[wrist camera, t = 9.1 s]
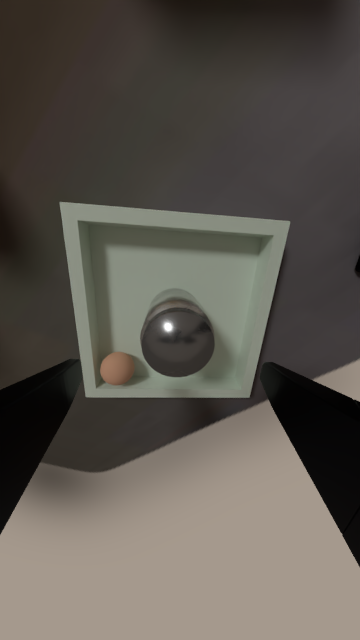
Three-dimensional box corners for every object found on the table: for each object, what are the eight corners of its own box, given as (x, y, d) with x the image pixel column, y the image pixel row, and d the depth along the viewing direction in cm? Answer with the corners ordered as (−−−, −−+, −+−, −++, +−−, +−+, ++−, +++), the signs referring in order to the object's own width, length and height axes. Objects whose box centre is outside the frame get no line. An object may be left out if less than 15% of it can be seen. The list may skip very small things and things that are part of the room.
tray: (272, 226, 16) (290, 221, 13) (240, 381, 21) (249, 397, 19) (77, 210, 14) (59, 201, 12) (95, 380, 20) (85, 397, 17)
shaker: (202, 289, 17) (223, 309, 10) (197, 337, 18) (212, 380, 12) (148, 286, 16) (137, 306, 10) (148, 336, 18) (138, 379, 12)
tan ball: (136, 346, 18) (130, 363, 15) (137, 372, 19) (131, 392, 16) (105, 345, 18) (93, 362, 15) (107, 371, 19) (96, 392, 16)
